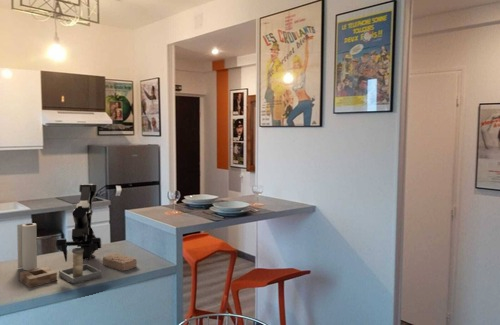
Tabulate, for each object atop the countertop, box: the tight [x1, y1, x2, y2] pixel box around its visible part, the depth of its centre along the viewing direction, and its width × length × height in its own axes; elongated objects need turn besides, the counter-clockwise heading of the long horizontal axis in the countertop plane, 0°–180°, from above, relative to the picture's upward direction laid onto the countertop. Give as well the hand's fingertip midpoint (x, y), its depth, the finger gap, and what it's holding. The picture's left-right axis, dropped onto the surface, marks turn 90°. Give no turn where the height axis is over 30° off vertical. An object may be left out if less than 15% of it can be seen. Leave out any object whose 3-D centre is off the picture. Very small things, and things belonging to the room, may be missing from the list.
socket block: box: [19, 266, 58, 288], centre depth 177 cm, size 11×11×4 cm
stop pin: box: [71, 247, 84, 278], centre depth 180 cm, size 5×5×13 cm
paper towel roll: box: [16, 222, 38, 271], centre depth 190 cm, size 7×6×21 cm
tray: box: [58, 263, 102, 285], centre depth 184 cm, size 13×13×2 cm
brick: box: [102, 253, 138, 271], centre depth 199 cm, size 17×8×5 cm, turn 57°
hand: (77, 260), depth 178 cm, fingers open, 9 cm apart
